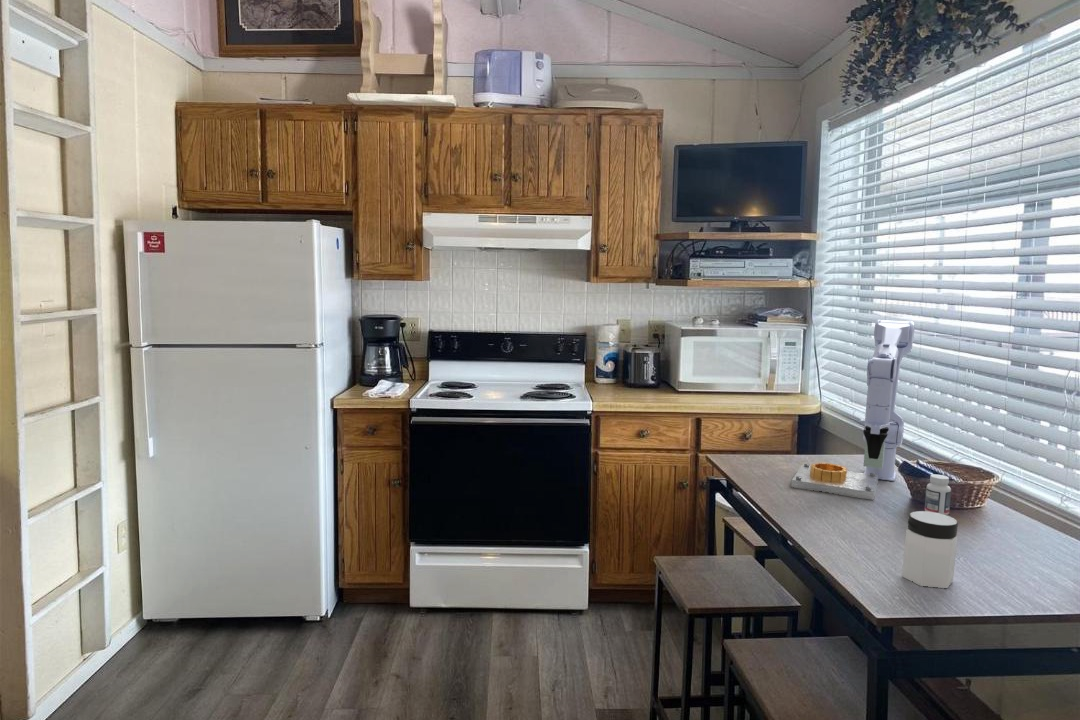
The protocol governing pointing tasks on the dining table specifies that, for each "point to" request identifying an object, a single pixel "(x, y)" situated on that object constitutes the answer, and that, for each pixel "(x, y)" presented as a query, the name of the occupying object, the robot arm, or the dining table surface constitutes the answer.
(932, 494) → the pill bottle
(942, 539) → the jar
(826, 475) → the bolted plate with ring
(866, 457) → the mint green square pillar
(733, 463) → the dining table surface
